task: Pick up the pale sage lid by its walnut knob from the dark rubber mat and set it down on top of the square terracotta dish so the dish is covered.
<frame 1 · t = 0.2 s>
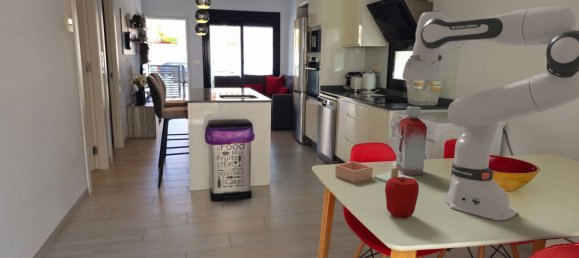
hand: (418, 91, 147), 38 cm above the table, tool pointing down, fingers open, 8 cm apart
bottle: (408, 172, 173), on the table
lid: (394, 179, 159), point 1 cm above the table, touching mat
apple: (399, 215, 124), on the table
mat: (394, 181, 159), on the table
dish: (353, 178, 161), on the table
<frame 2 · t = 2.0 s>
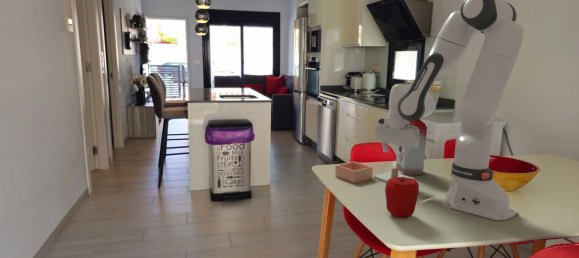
hand: (394, 154, 157), 11 cm above the table, tool pointing down, fingers open, 8 cm apart
nothing on the table moved.
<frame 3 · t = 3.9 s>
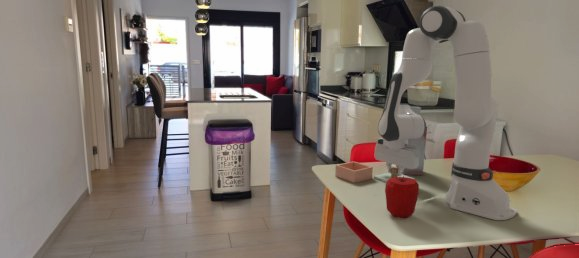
hand: (394, 174, 158), 3 cm above the table, tool pointing down, fingers closed on lid, 3 cm apart
lid: (394, 179, 159), point 1 cm above the table, touching gripper, mat
everything else where it was.
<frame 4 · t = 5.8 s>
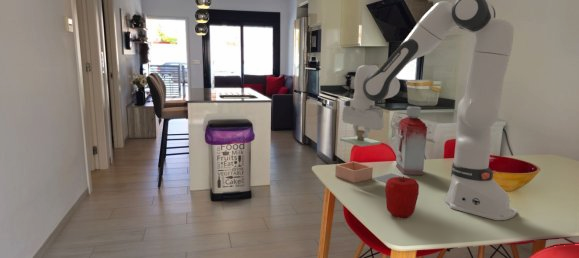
hand: (360, 136, 158), 18 cm above the table, tool pointing down, fingers closed on lid, 3 cm apart
lid: (360, 142, 159), point 16 cm above the table, touching gripper
everything else where it was.
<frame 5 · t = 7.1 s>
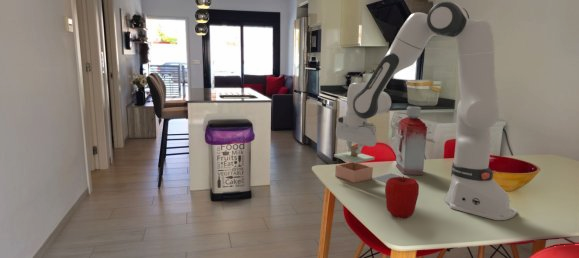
hand: (354, 152, 159), 11 cm above the table, tool pointing down, fingers closed on lid, 3 cm apart
lid: (354, 158, 160), point 9 cm above the table, touching gripper
everything else where it was.
when the fingers open (9 cm above the table, at t = 8.1 s): lid drops 1 cm, resting on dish.
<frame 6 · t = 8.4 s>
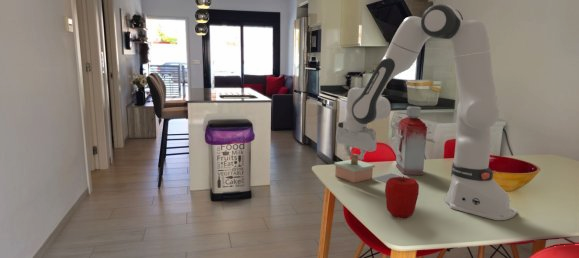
hand: (354, 157, 160), 9 cm above the table, tool pointing down, fingers open, 5 cm apart
lid: (354, 166, 160), point 5 cm above the table, touching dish
everything else where it was.
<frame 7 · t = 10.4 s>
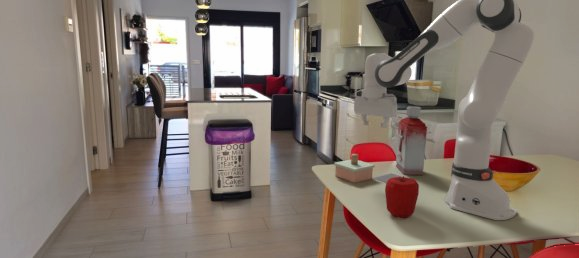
hand: (374, 126, 157), 23 cm above the table, tool pointing down, fingers open, 8 cm apart
nothing on the table moved.
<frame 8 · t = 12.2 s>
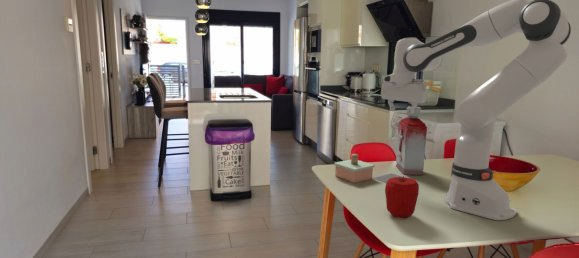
hand: (401, 111, 156), 29 cm above the table, tool pointing down, fingers open, 8 cm apart
nothing on the table moved.
at the end: lid 0.1 cm off-centre on the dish, point 5.5 cm above the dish's base; lid tilted 0°; the gripper is holding nothing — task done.
